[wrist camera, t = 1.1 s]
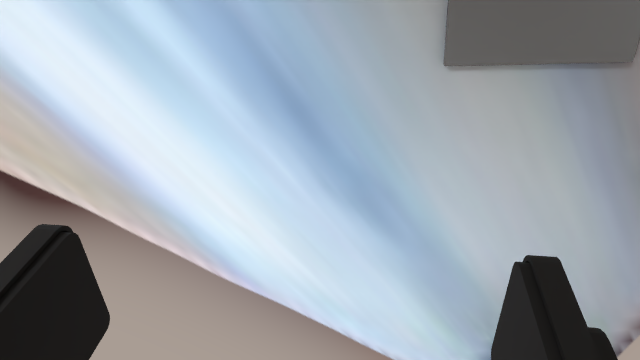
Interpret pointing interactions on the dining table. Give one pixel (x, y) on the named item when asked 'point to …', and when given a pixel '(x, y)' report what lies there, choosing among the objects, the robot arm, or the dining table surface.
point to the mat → (541, 32)
